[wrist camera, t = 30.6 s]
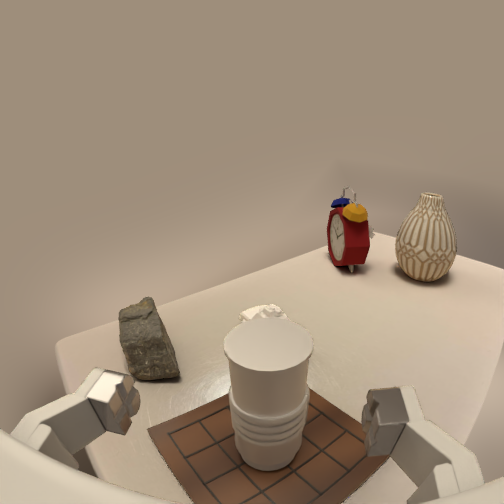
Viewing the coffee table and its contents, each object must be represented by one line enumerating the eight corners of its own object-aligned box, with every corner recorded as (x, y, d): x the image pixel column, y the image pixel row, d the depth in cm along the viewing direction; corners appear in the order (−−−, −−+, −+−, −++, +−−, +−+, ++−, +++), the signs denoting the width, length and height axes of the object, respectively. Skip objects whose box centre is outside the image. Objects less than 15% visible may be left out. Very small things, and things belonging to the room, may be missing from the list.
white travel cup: (305, 471, 25) (323, 368, 19) (234, 475, 25) (219, 373, 19) (297, 423, 31) (307, 315, 26) (236, 426, 31) (225, 318, 26)
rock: (96, 317, 47) (143, 287, 52) (115, 346, 50) (158, 317, 55) (128, 372, 34) (190, 329, 39) (152, 402, 37) (208, 362, 42)
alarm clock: (324, 255, 83) (327, 181, 76) (353, 253, 84) (358, 181, 77) (342, 278, 69) (348, 191, 62) (375, 275, 70) (383, 191, 63)
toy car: (265, 318, 55) (265, 284, 53) (308, 351, 46) (311, 314, 43) (236, 328, 52) (234, 293, 50) (276, 366, 43) (277, 328, 40)
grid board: (394, 451, 26) (397, 445, 26) (248, 566, 15) (248, 564, 15) (279, 372, 42) (280, 365, 41) (149, 434, 31) (146, 428, 30)
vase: (426, 295, 59) (441, 203, 52) (379, 269, 73) (386, 189, 66) (461, 279, 64) (474, 200, 57) (417, 258, 78) (425, 187, 71)
